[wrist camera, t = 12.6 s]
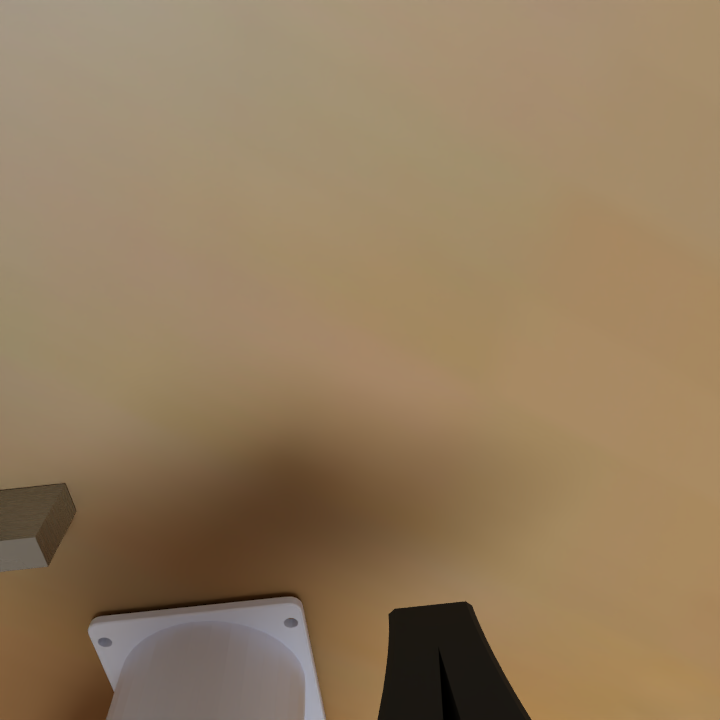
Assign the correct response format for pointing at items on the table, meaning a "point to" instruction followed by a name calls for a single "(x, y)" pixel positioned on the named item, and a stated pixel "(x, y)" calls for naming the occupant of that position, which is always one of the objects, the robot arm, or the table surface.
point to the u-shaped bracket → (33, 525)
